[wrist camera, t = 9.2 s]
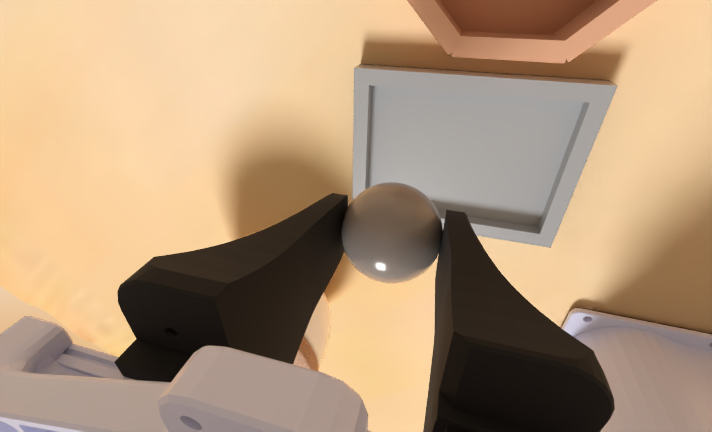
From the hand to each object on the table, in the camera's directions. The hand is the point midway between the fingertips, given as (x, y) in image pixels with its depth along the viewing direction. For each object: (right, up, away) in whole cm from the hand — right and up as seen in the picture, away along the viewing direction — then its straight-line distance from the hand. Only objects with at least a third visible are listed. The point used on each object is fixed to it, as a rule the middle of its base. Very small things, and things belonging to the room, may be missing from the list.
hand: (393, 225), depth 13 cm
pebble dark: (0, +1, +1) cm, 1 cm away
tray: (+5, +4, +7) cm, 9 cm away
